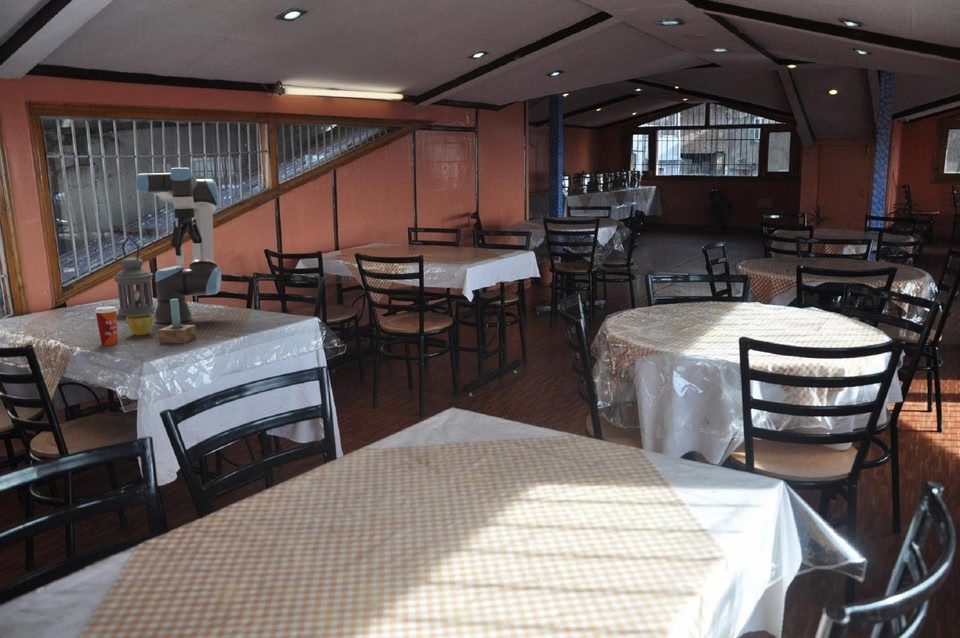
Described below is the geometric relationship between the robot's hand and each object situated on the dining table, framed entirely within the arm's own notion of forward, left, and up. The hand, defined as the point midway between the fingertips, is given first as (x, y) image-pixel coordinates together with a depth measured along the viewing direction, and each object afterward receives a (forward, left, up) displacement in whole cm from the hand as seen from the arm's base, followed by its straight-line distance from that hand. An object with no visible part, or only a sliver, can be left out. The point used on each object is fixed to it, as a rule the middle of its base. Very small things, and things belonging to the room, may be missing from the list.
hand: (188, 261), depth 314 cm
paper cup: (+21, -24, -29) cm, 43 cm away
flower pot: (+4, -21, -29) cm, 36 cm away
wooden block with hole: (+14, 0, -29) cm, 32 cm away
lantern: (-41, -49, -29) cm, 70 cm away
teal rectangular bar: (+14, 0, -29) cm, 32 cm away
